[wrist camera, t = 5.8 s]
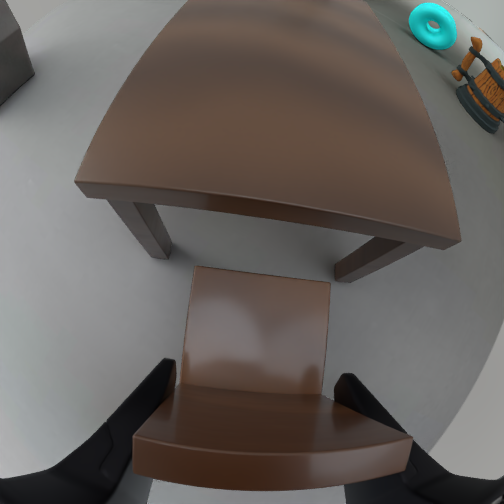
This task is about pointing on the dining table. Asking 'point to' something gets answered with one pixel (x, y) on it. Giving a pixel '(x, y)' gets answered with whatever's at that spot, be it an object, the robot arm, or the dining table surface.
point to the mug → (482, 89)
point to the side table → (276, 130)
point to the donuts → (429, 35)
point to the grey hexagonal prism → (12, 54)
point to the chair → (260, 396)
